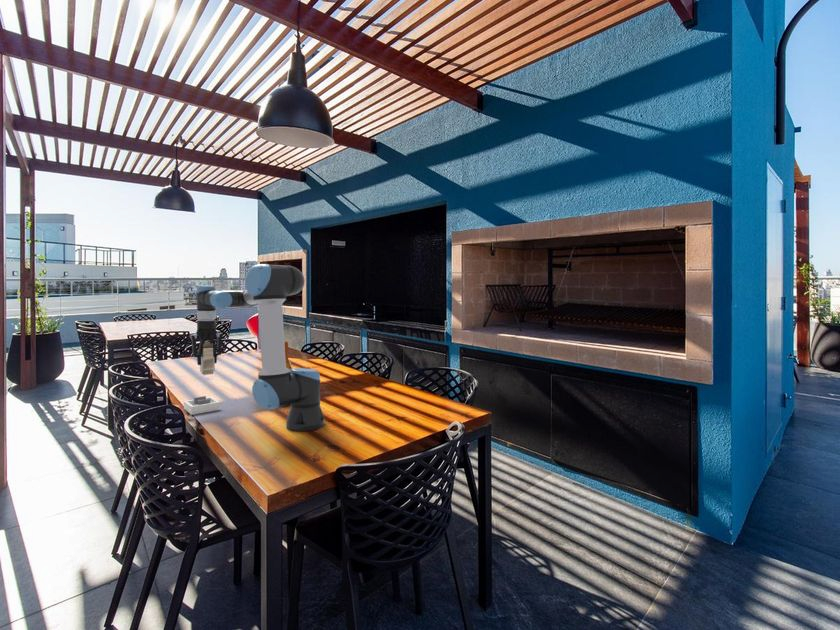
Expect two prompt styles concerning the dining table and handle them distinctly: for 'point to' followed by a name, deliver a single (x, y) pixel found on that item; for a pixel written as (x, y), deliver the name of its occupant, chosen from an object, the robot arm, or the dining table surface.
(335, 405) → the dining table surface
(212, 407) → the white square frame
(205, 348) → the wood grain beam
